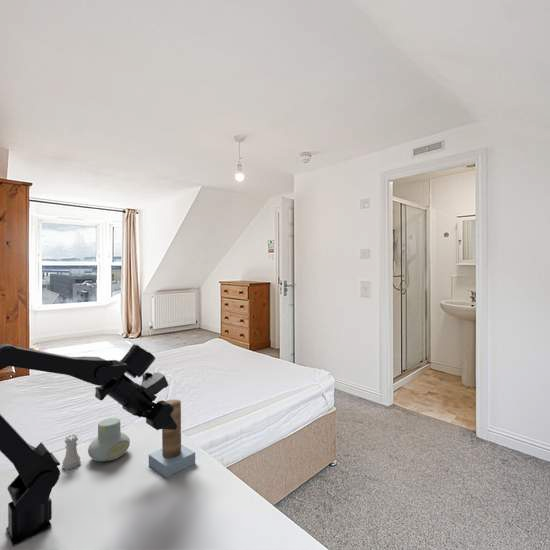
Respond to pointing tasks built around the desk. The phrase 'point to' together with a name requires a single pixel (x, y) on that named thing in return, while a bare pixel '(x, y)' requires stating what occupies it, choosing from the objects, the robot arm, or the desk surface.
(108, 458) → the air freshener
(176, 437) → the walnut pillar
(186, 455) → the pale blue square tile
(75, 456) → the rook chess piece
